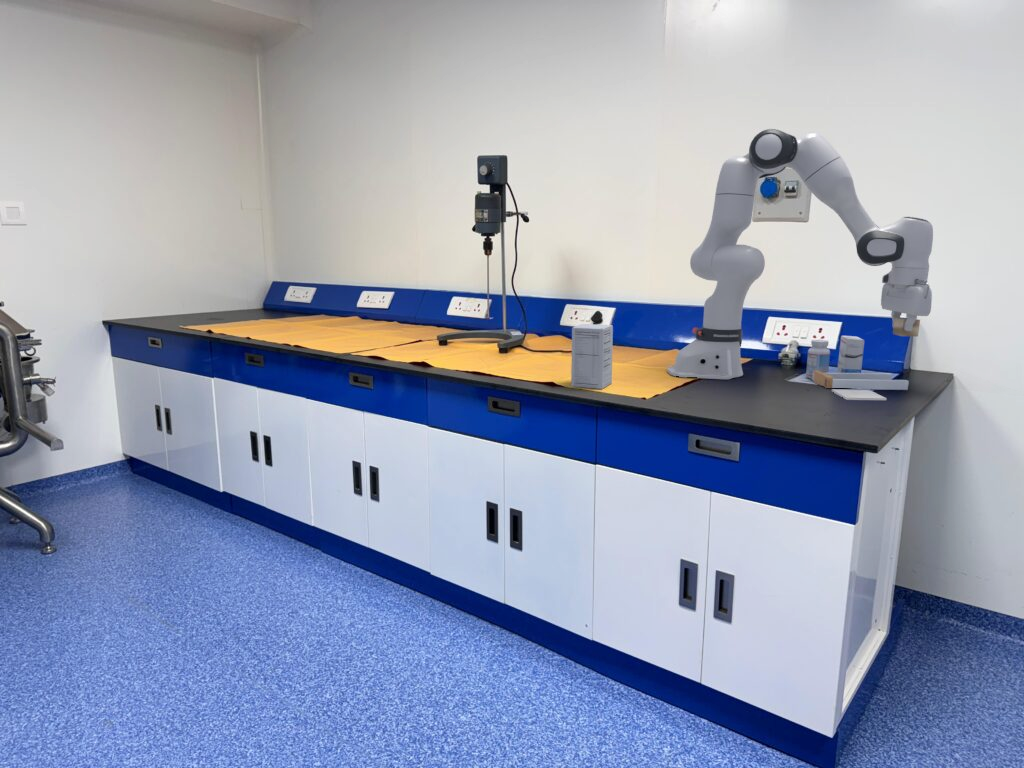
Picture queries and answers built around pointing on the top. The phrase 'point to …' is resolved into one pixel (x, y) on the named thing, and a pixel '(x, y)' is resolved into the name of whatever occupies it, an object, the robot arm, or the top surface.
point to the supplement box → (592, 356)
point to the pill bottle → (818, 357)
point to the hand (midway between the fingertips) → (901, 329)
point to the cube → (899, 330)
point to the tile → (858, 394)
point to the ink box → (850, 354)
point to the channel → (859, 380)
